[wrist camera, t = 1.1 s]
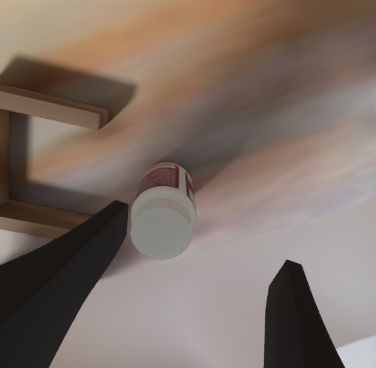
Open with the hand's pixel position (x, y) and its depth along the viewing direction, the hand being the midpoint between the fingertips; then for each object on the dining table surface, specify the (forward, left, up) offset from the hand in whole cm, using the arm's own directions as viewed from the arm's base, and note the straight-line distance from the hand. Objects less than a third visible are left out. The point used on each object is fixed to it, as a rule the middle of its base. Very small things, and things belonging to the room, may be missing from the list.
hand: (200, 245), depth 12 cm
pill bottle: (-3, +2, -14) cm, 14 cm away
